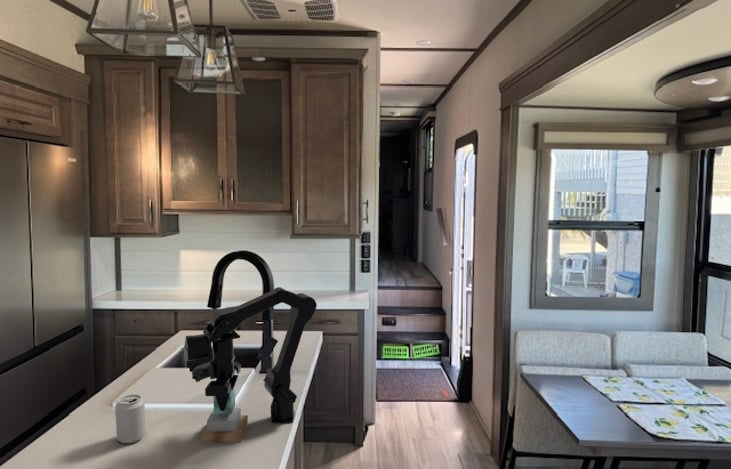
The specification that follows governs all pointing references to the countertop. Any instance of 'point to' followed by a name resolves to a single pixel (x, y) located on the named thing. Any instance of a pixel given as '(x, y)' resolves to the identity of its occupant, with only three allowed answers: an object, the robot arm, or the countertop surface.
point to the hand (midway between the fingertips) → (224, 406)
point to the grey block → (224, 421)
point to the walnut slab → (226, 433)
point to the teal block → (229, 406)
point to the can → (130, 419)
